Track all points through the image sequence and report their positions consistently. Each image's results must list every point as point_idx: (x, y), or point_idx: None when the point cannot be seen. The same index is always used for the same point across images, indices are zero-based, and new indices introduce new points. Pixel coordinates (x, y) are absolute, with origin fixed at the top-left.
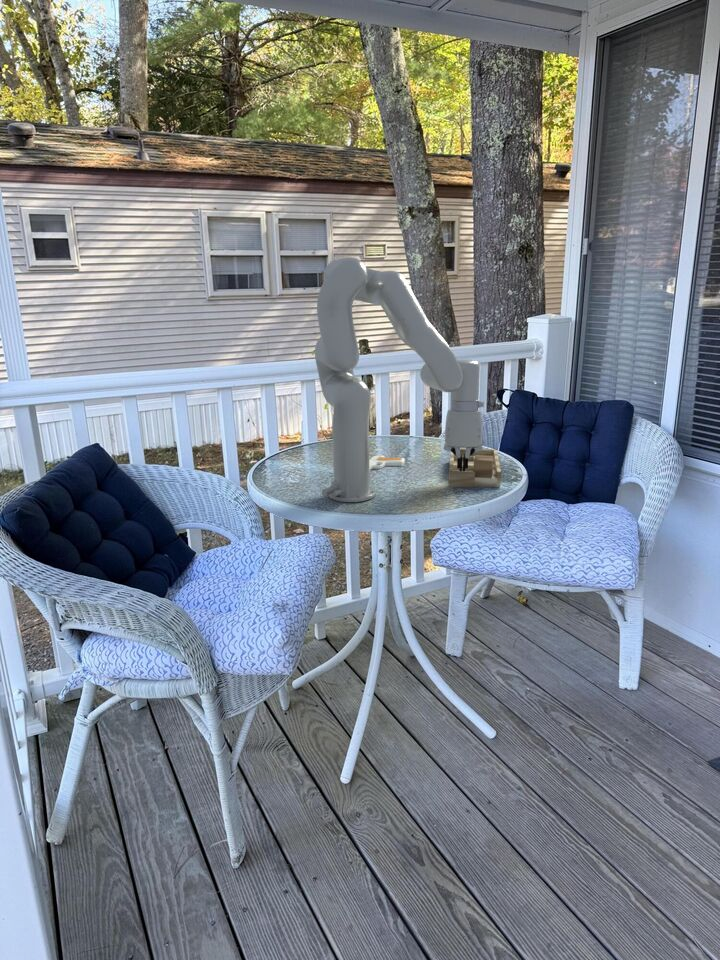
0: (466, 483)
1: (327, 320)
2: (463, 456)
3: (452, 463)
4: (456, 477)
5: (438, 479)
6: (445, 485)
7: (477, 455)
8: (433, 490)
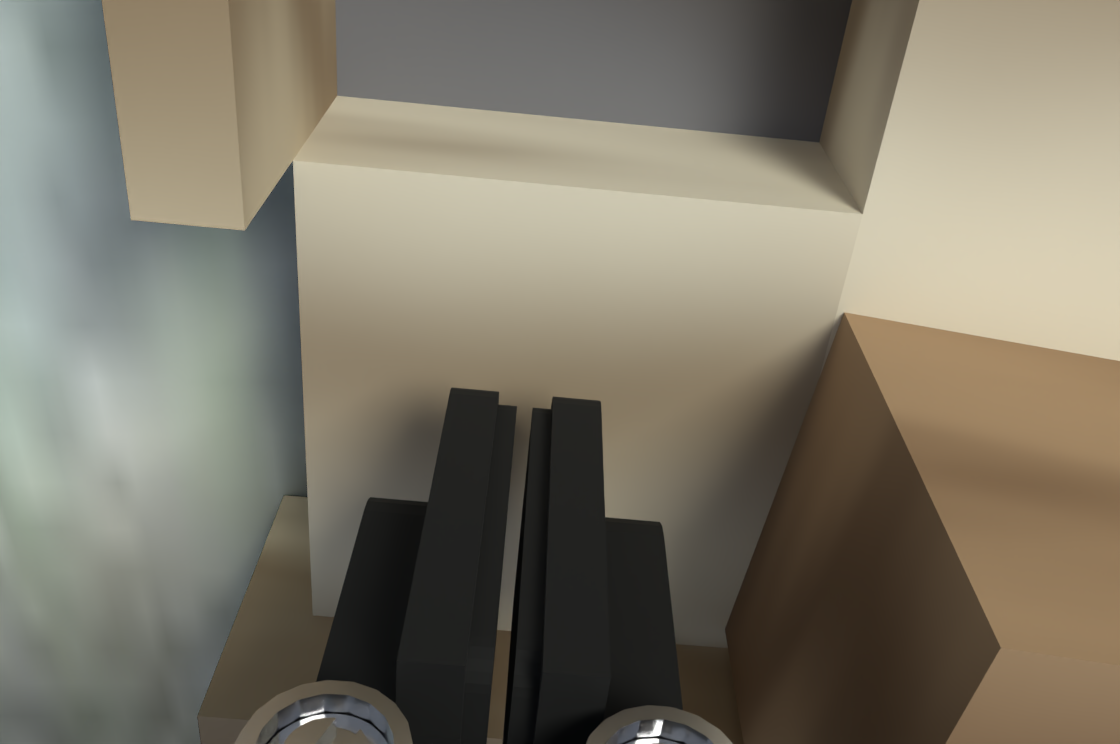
0: None
1: None
2: (524, 704)
3: (207, 116)
4: None
5: (21, 125)
6: (225, 483)
7: (1066, 688)
8: (73, 683)
